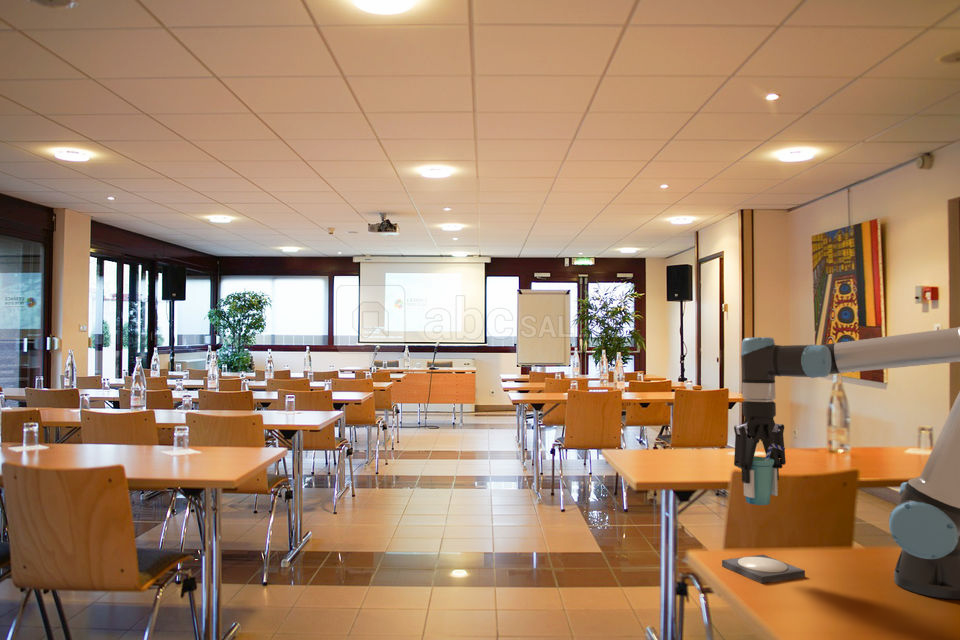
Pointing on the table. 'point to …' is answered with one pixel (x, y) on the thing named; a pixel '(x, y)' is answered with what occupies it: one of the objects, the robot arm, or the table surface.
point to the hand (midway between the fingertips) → (760, 495)
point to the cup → (762, 477)
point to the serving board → (763, 568)
